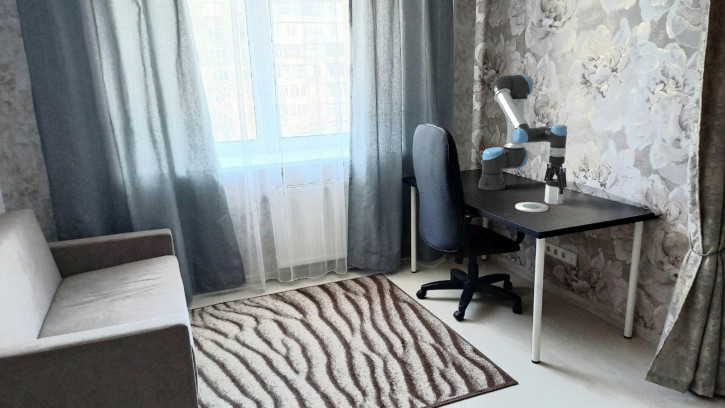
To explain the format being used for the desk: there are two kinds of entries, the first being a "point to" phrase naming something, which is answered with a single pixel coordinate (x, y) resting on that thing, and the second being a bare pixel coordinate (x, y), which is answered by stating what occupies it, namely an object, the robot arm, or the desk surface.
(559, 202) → the jar
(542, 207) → the plate
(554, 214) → the desk surface
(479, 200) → the desk surface
